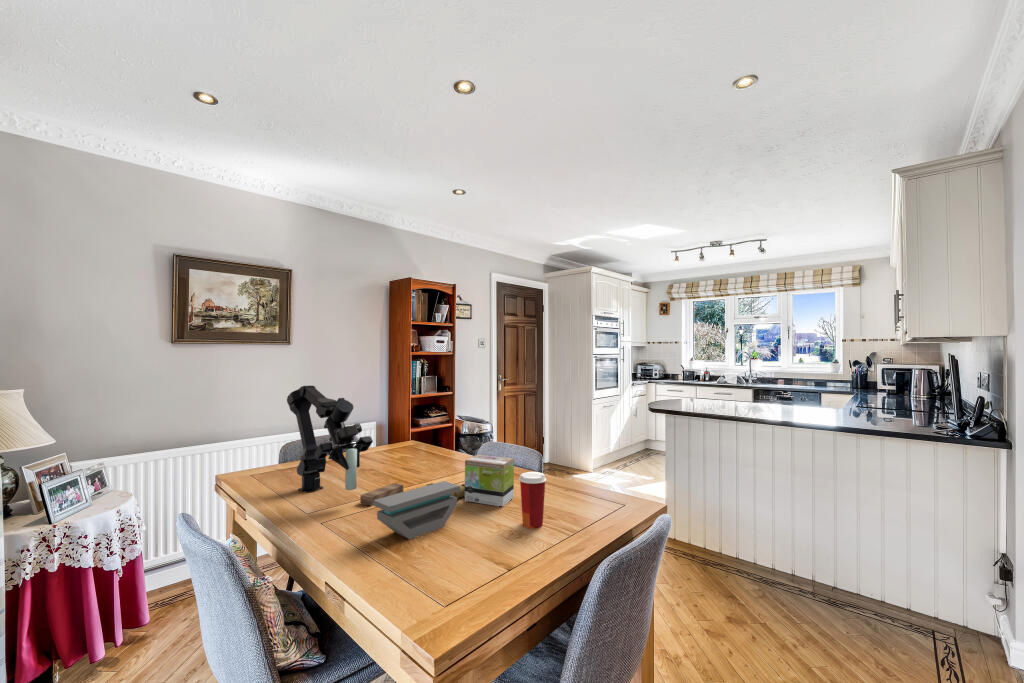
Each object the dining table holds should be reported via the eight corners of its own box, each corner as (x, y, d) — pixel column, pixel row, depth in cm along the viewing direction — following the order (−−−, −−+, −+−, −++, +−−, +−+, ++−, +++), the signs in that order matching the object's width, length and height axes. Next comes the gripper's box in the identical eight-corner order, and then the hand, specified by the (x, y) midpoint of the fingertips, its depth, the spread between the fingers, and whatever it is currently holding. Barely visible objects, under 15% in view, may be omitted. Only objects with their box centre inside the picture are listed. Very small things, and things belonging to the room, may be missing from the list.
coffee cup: (549, 521, 137) (549, 472, 137) (542, 531, 129) (542, 479, 130) (523, 518, 140) (523, 470, 140) (515, 528, 132) (514, 477, 132)
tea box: (463, 502, 155) (463, 459, 155) (476, 493, 164) (476, 453, 165) (503, 507, 149) (503, 463, 150) (514, 498, 159) (514, 457, 159)
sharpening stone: (388, 547, 119) (389, 506, 119) (373, 539, 124) (373, 500, 125) (459, 521, 137) (459, 485, 138) (443, 515, 143) (443, 480, 143)
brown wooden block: (370, 506, 151) (371, 497, 151) (360, 504, 153) (360, 495, 153) (403, 493, 165) (403, 485, 165) (393, 491, 167) (393, 483, 167)
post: (342, 489, 149) (343, 450, 149) (350, 486, 152) (350, 448, 152) (351, 490, 147) (352, 451, 147) (358, 487, 151) (359, 449, 151)
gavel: (415, 482, 169) (436, 476, 176) (415, 494, 169) (437, 488, 176) (450, 490, 155) (471, 483, 162) (450, 503, 154) (472, 496, 162)
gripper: (319, 419, 146) (334, 458, 138) (370, 413, 160) (387, 449, 152) (308, 439, 151) (322, 479, 143) (358, 432, 165) (374, 467, 157)
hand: (353, 468), depth 149 cm, fingers closed on post, 4 cm apart
